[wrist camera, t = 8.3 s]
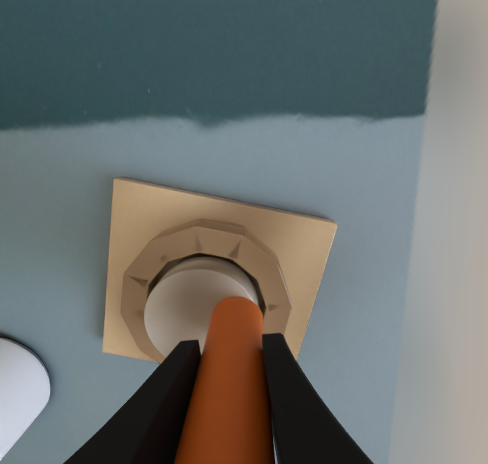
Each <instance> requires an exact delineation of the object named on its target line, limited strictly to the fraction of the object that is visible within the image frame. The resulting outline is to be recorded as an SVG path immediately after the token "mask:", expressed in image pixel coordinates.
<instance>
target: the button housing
mask: <svg viewBox="0 0 488 464" xmlns="http://www.w3.org/2000/svg"><path fill="white" fill-rule="evenodd" d="M337 226H338V224H337V223H336V222H335V221H333V220H330V219H325V218H320V217H316V216H311V215H306V214H301V213H296V212H291V211H286V210H281V209H276V208H271V207H266V206H262V205H257V204H252V203H247V202H242V201H237V200H232V199H227V198H222V197H217V196H212V195H207V194H203V193H198V192H193V191H188V190H183V189H178V188H173V187H168V186H163V185H158V184H153V183H148V182H144V181H139V180H134V179H129V178H124V177H121V178H114V180H113V196H112V211H111V227H110V242H109V258H108V273H107V288H106V304H105V319H104V335H103V350H102V351H103V352H105V353H111V354H116V355H122V356H127V357H133V358H138V359H143V360H149V361H154V362H157V363H159V364H161V363H162V362H163V361H164V359H165V358H166V357H165V356H163V355H162V354H161V353H160V352H159V351H158V350H157V349H156V348H155V346H154V345H153V344H152V342H151V340H150V339H149V336H148V334H147V332H146V328H145V322H144V310H145V305H146V302H147V299H148V297H149V295H150V293H151V292H152V290H153V289H154V288H155V286H156V285H157V284H158V282H159V281H160V280H161V279H162V277H163V276H164V275H165V273H166V272H167V271H168V270H169V269H170V268H172V267H173V266H174V265H176V264H178V263H180V262H181V261H184V260H186V259H190V258H194V257H215V258H219V259H223V260H225V261H228V262H230V263H232V264H233V265H235V266H237V267H238V268H239V269H241V270H242V271H243V272H244V273H245V274H246V275H247V276H248V278H249V279H250V280H251V282H252V284H253V285H254V288H255V290H256V293H257V297H258V307H259V308H260V310H261V312H262V315H263V322H264V334H271V333H281V334H283V335H284V337H285V340H286V342H287V344H288V346H289V348H290V350H291V352H292V354H293V356H294V358H295V359H296V360H297V357H298V354H299V351H300V347H301V344H302V341H303V338H304V334H305V331H306V328H307V325H308V321H309V318H310V315H311V311H312V308H313V305H314V302H315V298H316V295H317V292H318V289H319V285H320V282H321V279H322V275H323V272H324V269H325V266H326V262H327V259H328V256H329V253H330V249H331V246H332V243H333V240H334V236H335V233H336V230H337Z"/></svg>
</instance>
